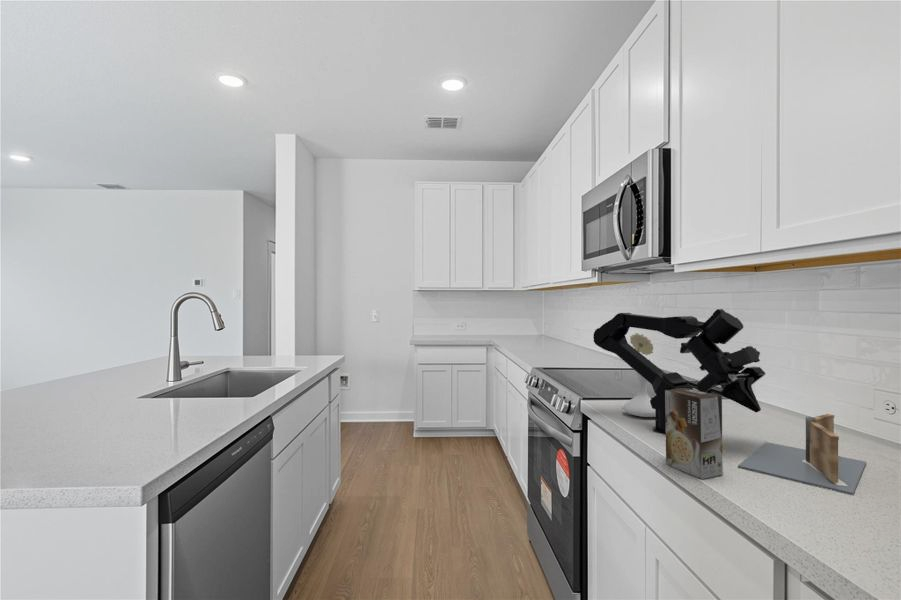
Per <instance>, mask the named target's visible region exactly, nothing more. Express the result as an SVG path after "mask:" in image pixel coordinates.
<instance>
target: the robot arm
mask: <svg viewBox="0 0 901 600" xmlns="http://www.w3.org/2000/svg"><path fill="white" fill-rule="evenodd" d="M630 328H635V329H642V330H649V331H656V332H658V333H661V334H663V335H664V336H667V337H670V338H673V339H676V340H677V339H678V340H679V339H688V341H687V342H681V343H680V349H679V353H680V354H690V353H691V354H692V355H693V357H694V358H695V360H696V361H698V363H699V364H700V366H699V370H700V371H706V372H707V374H706V375H705V376H704V377H703V378H701V379H700V380H699V381H698V382H697V383H696V386H697V387H696V390H697V391H702V392H706V393H711V394H712V389H713V388H714V387H717V386H720V389H721V391H720V392H719V393H718V395H720V396H722V397H724V398H726V399H729V400H731V401H733V402H735V403H737V404H739V405H740V406H743V407H745V408H747V409H748V410H751V411H752V412H754V413H759V412H760V411H761V410H762V408H761V406H760V403H759V402H758V400H757V397H756V395H755V393H754V390H753V386H752V385H754V384H755V383H756V382H757V381H759V380H761V378H763V377H764V376H765V375H766V372H765V371H764V370H763V368H761V367H760V366H749V367H745V366H746V365H750V364H752V363H753V364H754V363H759V362H761V359H760V355H761V352H760V351H758V350H757V348H755V347H753V346H752V345H749V346H746V347H742V348H741V349H740V350H737V351H733V352H729V351H723V350H722V349H721V348H720V347H719V346H718V345H719V344H720V345H725V344H727V343H728V342H730V340H731V339H733V338H734V337H735V336H736V335H737V334H738V333H739V332H741V331H742V330H743V329H744V324H743V323H742V321H741V320H740V319H739V318H738V317H735V316H734V315H732V314H731V313H729V312H727V311H725V310H724V309H722V308H721V309H718V308H717V309H716V310H715V311H714V312H713V313H712V315H711V316H710V317H709V318H707V320H706V321H699V320H698V318H697V317H695V316H693V315H688V316H687V315H683V316H681V315H680V316H668V317H667V316H666V317H662V316H653V315H646V314H635V313H631V312H618V313H617V314H615V315H614V316H613V317H612V318H611V319H610V320H608V321H606V322H605V323H603V324H602V325H601V326H600V327H598V328H596V329H595V330H594V332H593V342H594V344H595V345H596V346H597V347H599V348H601V349H602V350H604V351H606V352H609V353H613V354H615V355H616V356H617V357H619V358H620V359H621V360H622V361H623V362H624V363H626V364H627V366H629V367H630V368H632V370H633V371H634V370H635V371H636V372H638V373H639V374H640V375H641V376H642V377H643V378H645V379H646V380H647V383H650V385H651V386H652V389H653V391H654V394H655V395H654V396H653V397H652V398H651V400H650V403H651V406H652V408H653V409H655V417H654V418H655V419H654V420H655V421H654V422H655V427H653V428H652V432H657V433H663V434H666V414H665V390H672V389H679V388H688V389H692V390H694V388H693V386H692V385H691V384H690V381H689V380H688V379H685V378H684V377H683V376H682V375H681V374H679V372H677V371H675V372H668V373H666V371H665V372H664V371H663V370H662V369H661V368H660V367H658V366H657V365H656V364H655V363H653V362H652V361H651V360H650V359H648V358H647V357H646V356H644V354H642V353H641V352H638V351H637V350H636V349H635V348H634V347H633V345H632V344H631V345H630V343H628V340H627V337H626V335H627V334H628V332H629V330H630ZM649 360H650V361H649ZM635 371H634V372H635Z"/></svg>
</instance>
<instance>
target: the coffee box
mask: <svg viewBox="0 0 901 600" xmlns="http://www.w3.org/2000/svg"><path fill="white" fill-rule="evenodd" d="M665 414H666V433H665V465H667V466H669V467H672V468H675V469H677V470H679V471H682V472H684V473H686V474H688V475H691V476H693V477H695V478H698V479H701V480H704V479H710V478H716V477H720V476H719V475H721V476H723V475H724V472H723V471H724V470H723V469H724V468H723V396H722V395H721V396H720V395H719V394H715V393H712V392H711V393H706V392H702V391H699V390H698V389H693V390H692V389H688V388H679V389H672V390H665Z"/></svg>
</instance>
